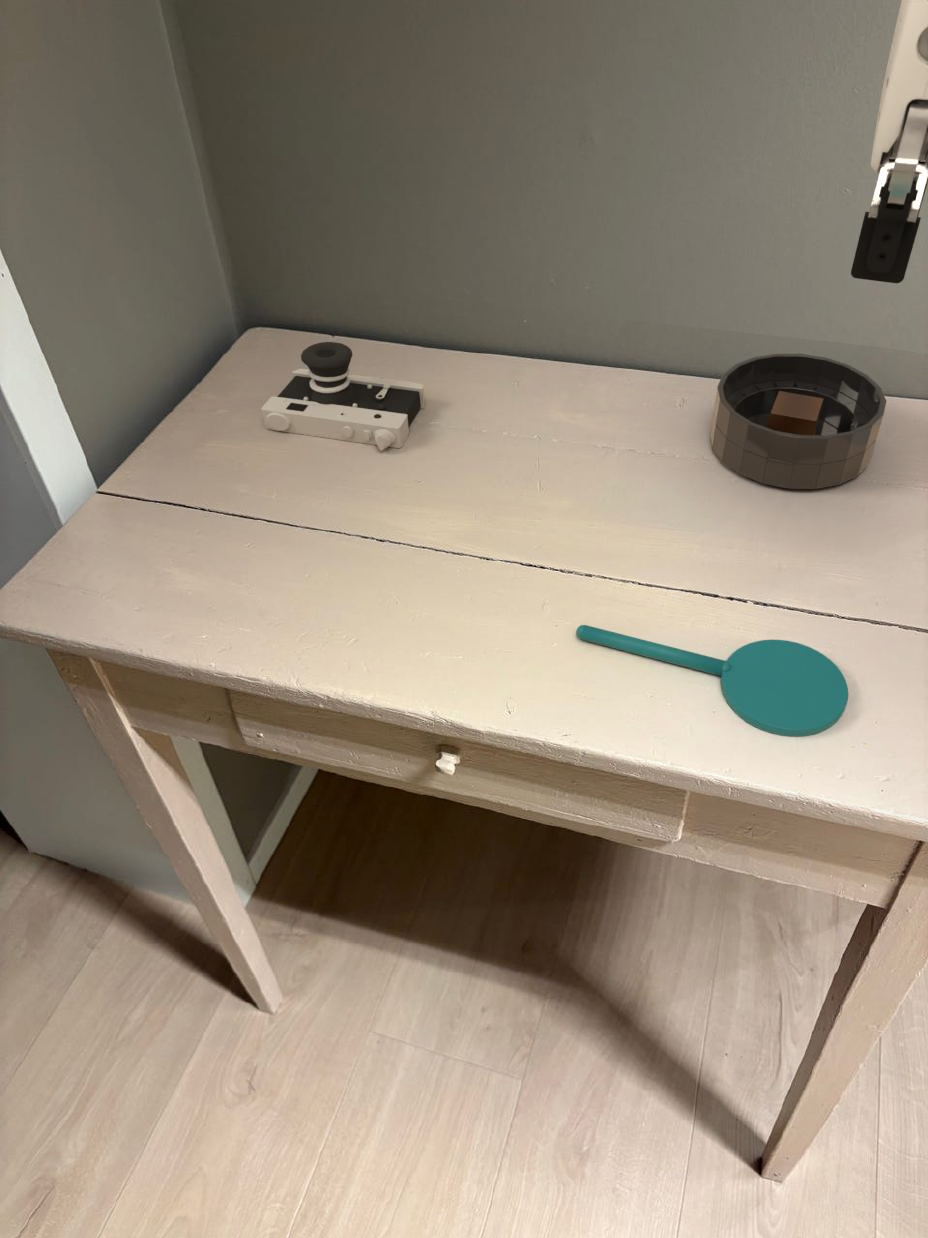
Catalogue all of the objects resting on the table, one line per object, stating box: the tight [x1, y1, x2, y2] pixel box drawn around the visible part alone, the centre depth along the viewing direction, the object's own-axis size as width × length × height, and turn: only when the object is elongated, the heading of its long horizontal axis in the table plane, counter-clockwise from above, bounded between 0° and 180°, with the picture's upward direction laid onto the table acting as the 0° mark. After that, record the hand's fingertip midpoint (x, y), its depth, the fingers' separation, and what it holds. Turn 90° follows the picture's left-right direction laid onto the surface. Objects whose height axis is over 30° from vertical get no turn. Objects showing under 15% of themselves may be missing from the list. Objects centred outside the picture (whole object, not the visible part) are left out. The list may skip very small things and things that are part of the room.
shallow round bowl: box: [709, 353, 887, 490], centre depth 92 cm, size 15×15×6 cm
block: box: [767, 391, 824, 435], centre depth 92 cm, size 4×4×4 cm
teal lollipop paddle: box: [575, 624, 849, 737], centre depth 73 cm, size 21×9×1 cm, turn 67°
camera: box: [260, 341, 426, 452], centre depth 99 cm, size 15×7×10 cm
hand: (884, 248), depth 65 cm, fingers open, 9 cm apart
